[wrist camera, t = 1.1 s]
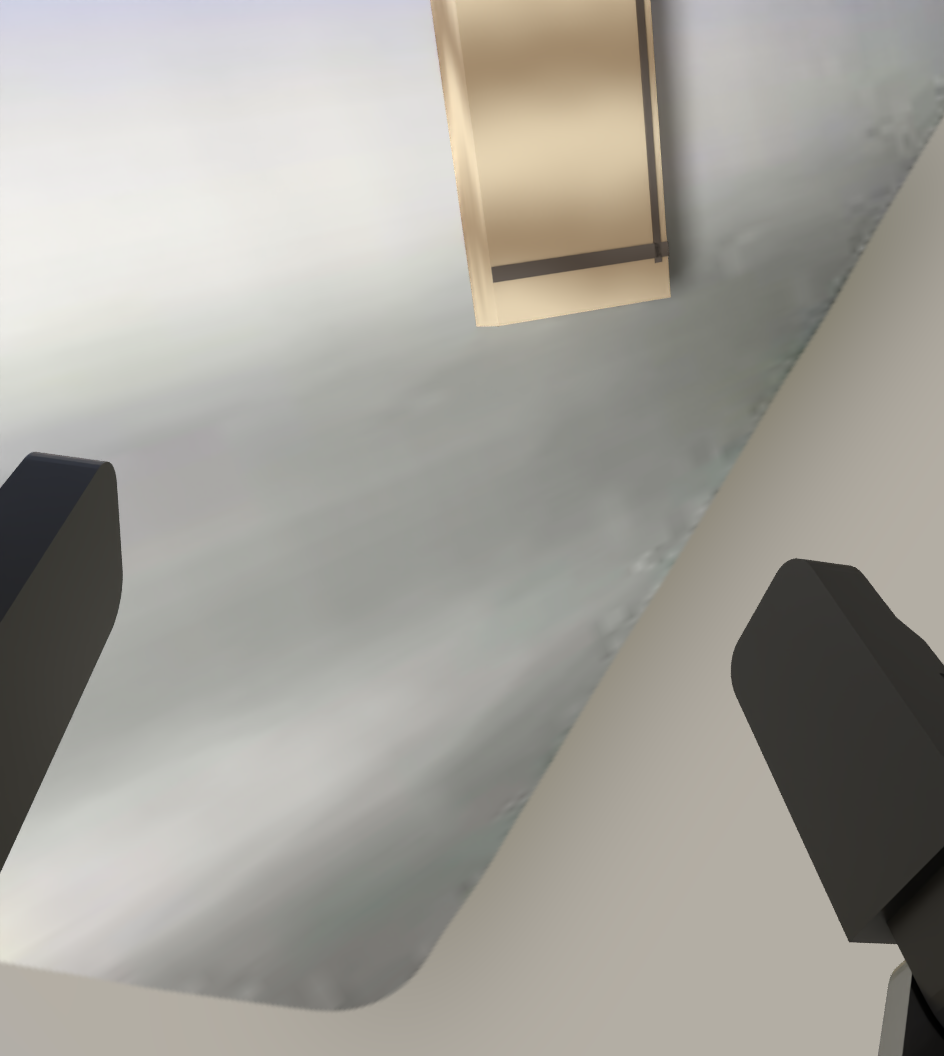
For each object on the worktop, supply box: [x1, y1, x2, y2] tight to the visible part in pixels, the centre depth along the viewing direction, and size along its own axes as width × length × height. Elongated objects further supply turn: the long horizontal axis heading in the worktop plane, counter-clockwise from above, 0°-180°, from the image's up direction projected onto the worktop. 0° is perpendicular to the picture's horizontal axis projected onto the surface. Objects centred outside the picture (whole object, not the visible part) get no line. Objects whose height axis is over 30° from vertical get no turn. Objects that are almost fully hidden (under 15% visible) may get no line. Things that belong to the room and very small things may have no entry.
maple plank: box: [430, 0, 671, 326], centre depth 30 cm, size 20×8×3 cm, turn 9°
